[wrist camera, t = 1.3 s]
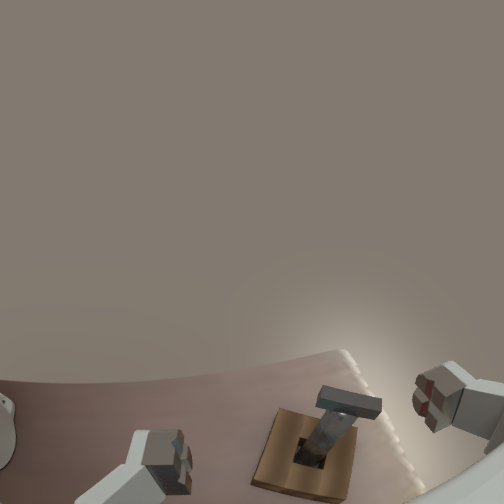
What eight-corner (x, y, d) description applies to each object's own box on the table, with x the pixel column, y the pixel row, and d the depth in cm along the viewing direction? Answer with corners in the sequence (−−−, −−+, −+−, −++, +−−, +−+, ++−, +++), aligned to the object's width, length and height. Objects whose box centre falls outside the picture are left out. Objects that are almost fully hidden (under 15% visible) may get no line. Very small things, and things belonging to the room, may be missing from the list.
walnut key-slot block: (250, 484, 31) (253, 478, 30) (275, 417, 42) (279, 407, 41) (337, 504, 29) (346, 499, 27) (350, 435, 40) (357, 427, 38)
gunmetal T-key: (280, 464, 35) (319, 404, 26) (286, 445, 38) (324, 378, 29) (324, 474, 33) (381, 418, 25) (329, 455, 36) (381, 392, 28)
